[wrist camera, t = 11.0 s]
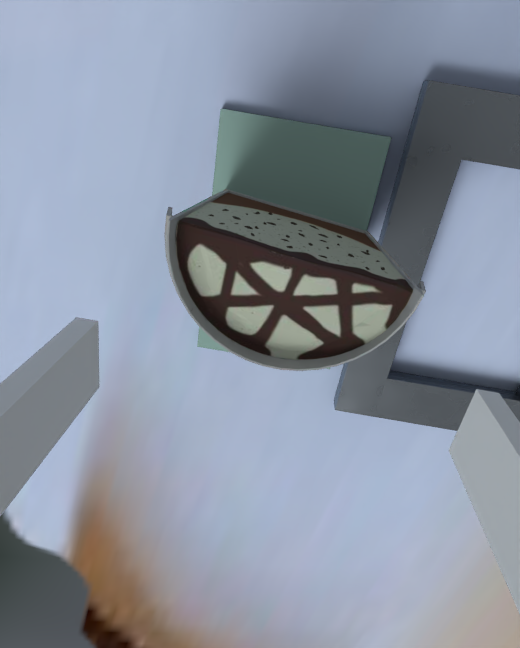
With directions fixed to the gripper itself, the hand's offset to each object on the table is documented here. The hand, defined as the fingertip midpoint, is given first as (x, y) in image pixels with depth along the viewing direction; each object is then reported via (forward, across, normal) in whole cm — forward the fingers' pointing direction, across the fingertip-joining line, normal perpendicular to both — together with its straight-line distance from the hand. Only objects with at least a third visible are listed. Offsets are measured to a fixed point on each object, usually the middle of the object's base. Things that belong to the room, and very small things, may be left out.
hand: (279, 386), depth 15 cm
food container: (+15, +1, 0) cm, 15 cm away
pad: (+15, +1, 0) cm, 15 cm away
